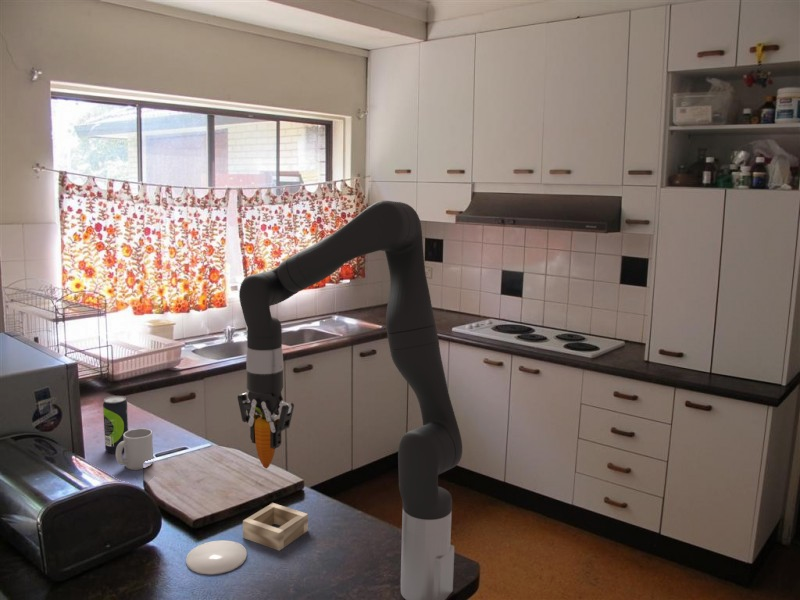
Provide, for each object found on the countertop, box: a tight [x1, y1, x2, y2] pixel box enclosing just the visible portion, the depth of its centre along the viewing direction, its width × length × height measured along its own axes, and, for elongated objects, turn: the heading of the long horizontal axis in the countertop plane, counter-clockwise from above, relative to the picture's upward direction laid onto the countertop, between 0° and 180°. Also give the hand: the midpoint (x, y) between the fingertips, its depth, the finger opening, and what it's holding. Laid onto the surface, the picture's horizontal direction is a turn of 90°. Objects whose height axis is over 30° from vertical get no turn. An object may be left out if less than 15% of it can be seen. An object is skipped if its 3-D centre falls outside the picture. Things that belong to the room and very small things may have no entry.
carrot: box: [254, 407, 277, 469], centre depth 149 cm, size 5×5×15 cm
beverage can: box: [102, 395, 129, 454], centre depth 197 cm, size 6×6×15 cm
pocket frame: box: [242, 502, 309, 552], centre depth 154 cm, size 10×10×4 cm
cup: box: [115, 428, 154, 471], centre depth 187 cm, size 7×10×9 cm
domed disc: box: [185, 539, 248, 575], centre depth 144 cm, size 12×12×1 cm
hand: (265, 444), depth 149 cm, fingers closed on carrot, 4 cm apart
